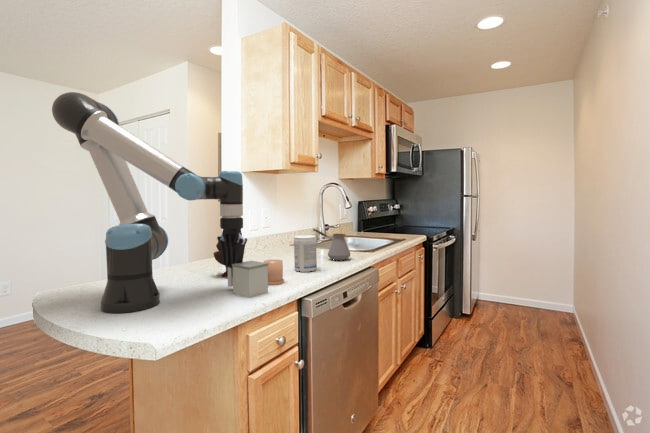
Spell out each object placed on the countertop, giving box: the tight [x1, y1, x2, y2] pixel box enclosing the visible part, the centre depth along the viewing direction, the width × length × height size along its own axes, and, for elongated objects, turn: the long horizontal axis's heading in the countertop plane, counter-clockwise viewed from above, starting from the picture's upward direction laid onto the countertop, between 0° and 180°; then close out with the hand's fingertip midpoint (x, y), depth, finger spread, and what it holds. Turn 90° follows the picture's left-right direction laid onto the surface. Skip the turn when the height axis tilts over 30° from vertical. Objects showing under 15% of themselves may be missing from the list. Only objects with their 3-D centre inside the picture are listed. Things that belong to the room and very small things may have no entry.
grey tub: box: [232, 260, 269, 298], centre depth 118 cm, size 8×8×10 cm
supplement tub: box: [293, 234, 318, 273], centre depth 153 cm, size 10×10×15 cm
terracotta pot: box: [263, 259, 285, 286], centre depth 132 cm, size 8×8×8 cm
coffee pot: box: [312, 228, 351, 261], centre depth 181 cm, size 21×12×15 cm, turn 61°
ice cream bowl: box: [213, 241, 228, 278], centre depth 143 cm, size 11×11×15 cm
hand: (232, 285), depth 122 cm, fingers closed
